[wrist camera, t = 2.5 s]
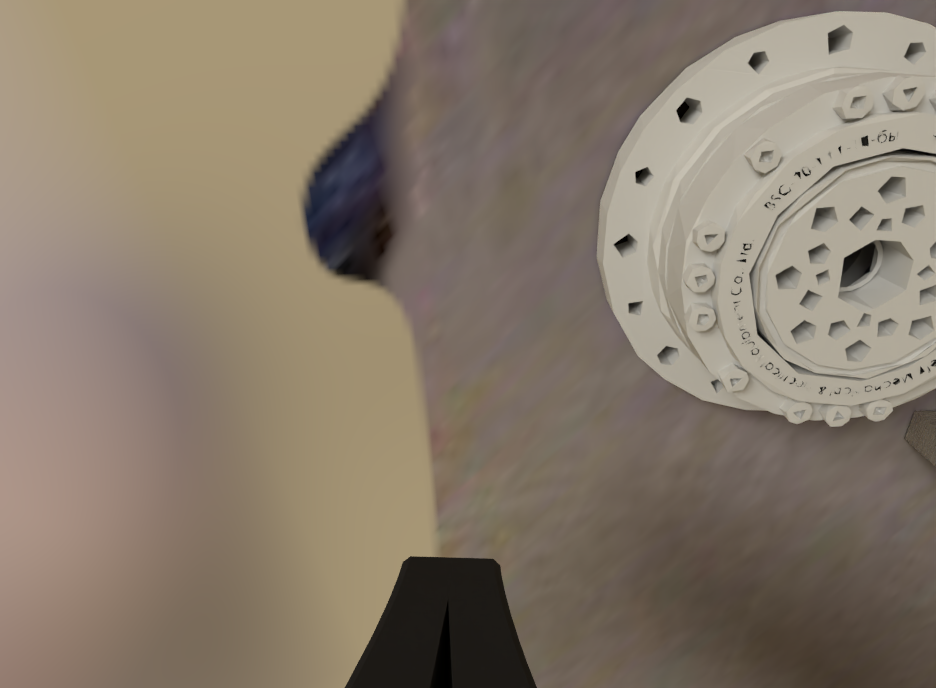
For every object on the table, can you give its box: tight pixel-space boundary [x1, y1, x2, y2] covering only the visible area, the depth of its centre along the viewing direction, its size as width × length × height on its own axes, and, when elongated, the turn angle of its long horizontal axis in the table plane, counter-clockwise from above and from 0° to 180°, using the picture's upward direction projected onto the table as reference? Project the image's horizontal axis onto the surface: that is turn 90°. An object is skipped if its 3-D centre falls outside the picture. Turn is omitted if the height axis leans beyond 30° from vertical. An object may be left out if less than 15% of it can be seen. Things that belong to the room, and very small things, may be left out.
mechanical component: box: [597, 11, 936, 427], centre depth 15 cm, size 10×4×10 cm
